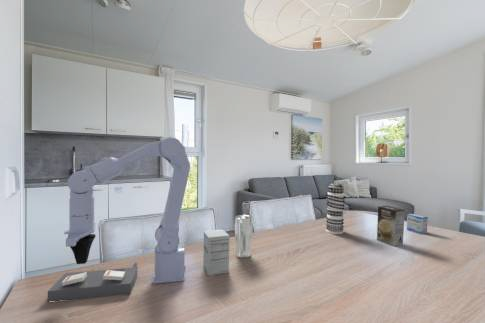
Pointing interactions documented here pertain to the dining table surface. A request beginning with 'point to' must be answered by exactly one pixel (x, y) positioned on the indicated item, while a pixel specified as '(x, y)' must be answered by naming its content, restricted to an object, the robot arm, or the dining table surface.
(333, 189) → the striped tower model
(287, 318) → the dining table surface
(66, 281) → the rocker
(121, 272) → the rocker
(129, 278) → the switch panel
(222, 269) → the supplement box
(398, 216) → the coffee box
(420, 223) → the medicine box
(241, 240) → the silver metal canister
